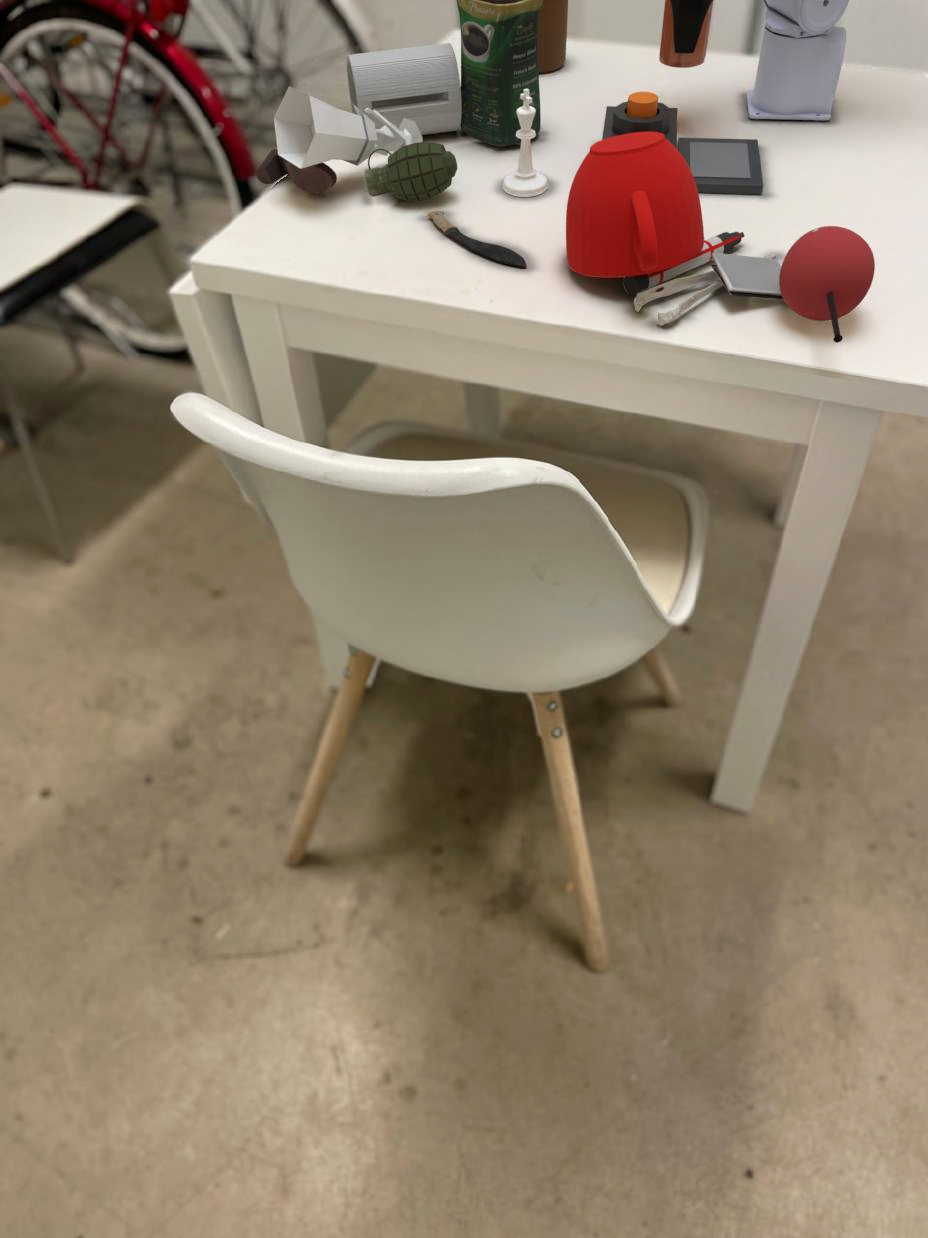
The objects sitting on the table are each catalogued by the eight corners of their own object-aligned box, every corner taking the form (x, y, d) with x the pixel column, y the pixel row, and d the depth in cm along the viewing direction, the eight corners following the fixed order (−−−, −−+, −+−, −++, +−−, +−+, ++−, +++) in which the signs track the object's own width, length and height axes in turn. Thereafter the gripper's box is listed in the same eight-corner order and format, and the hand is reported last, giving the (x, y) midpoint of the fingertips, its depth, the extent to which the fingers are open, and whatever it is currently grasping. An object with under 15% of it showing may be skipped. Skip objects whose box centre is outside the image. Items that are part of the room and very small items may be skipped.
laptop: (717, 242, 87) (707, 260, 88) (738, 282, 84) (727, 301, 86) (783, 249, 89) (772, 266, 91) (805, 288, 86) (794, 306, 88)
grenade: (458, 134, 104) (373, 156, 107) (444, 120, 98) (353, 143, 100) (469, 196, 106) (384, 216, 108) (455, 186, 99) (366, 207, 101)
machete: (536, 266, 94) (536, 259, 93) (513, 276, 92) (513, 269, 92) (440, 213, 101) (440, 206, 101) (417, 221, 100) (417, 214, 100)
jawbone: (665, 330, 85) (670, 309, 83) (628, 308, 87) (632, 287, 86) (791, 278, 92) (797, 258, 91) (753, 259, 95) (759, 239, 93)
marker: (639, 281, 87) (625, 269, 88) (634, 299, 89) (621, 287, 90) (755, 230, 93) (740, 219, 94) (748, 248, 94) (734, 237, 95)
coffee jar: (551, 135, 114) (557, -49, 100) (503, 155, 111) (503, -33, 97) (497, 113, 119) (495, -65, 105) (449, 132, 116) (441, -50, 102)
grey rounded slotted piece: (349, 106, 117) (444, 94, 119) (363, 159, 114) (460, 146, 115) (344, 36, 109) (445, 24, 110) (358, 91, 106) (462, 78, 107)
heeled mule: (319, 157, 101) (339, 139, 102) (244, 154, 106) (264, 137, 108) (333, 197, 104) (352, 179, 106) (259, 193, 109) (279, 176, 111)
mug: (506, 87, 125) (505, 4, 118) (472, 71, 129) (470, -10, 122) (577, 65, 129) (580, -16, 122) (542, 50, 133) (544, -29, 126)
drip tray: (756, 147, 109) (758, 138, 109) (761, 194, 102) (763, 184, 101) (677, 145, 111) (678, 135, 110) (676, 191, 103) (677, 181, 102)
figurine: (271, 93, 100) (401, 120, 112) (279, 176, 102) (406, 193, 114) (310, 74, 95) (441, 104, 107) (317, 161, 97) (446, 181, 109)
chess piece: (516, 200, 103) (517, 102, 95) (495, 183, 106) (493, 86, 98) (555, 190, 104) (559, 91, 97) (533, 173, 107) (535, 77, 100)
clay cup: (704, 51, 110) (714, -19, 105) (704, 68, 107) (714, -4, 102) (659, 51, 111) (667, -19, 106) (658, 67, 108) (665, -4, 103)
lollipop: (769, 362, 78) (762, 280, 88) (856, 391, 78) (839, 305, 88) (817, 277, 72) (804, 200, 83) (911, 309, 73) (885, 228, 83)
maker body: (672, 145, 111) (679, 90, 106) (671, 191, 103) (679, 133, 98) (603, 143, 112) (607, 88, 107) (597, 189, 104) (601, 132, 99)
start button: (656, 108, 104) (658, 91, 103) (656, 120, 102) (658, 102, 101) (627, 108, 104) (628, 90, 103) (626, 119, 102) (627, 102, 101)
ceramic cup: (725, 150, 76) (727, 274, 82) (685, 113, 90) (689, 222, 96) (565, 181, 78) (578, 301, 83) (550, 140, 91) (562, 246, 97)
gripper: (665, -121, 103) (651, 21, 113) (661, -87, 94) (646, 65, 104) (731, -121, 102) (711, 22, 112) (734, -87, 93) (712, 66, 103)
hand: (684, 43), depth 108 cm, fingers closed on clay cup, 5 cm apart
